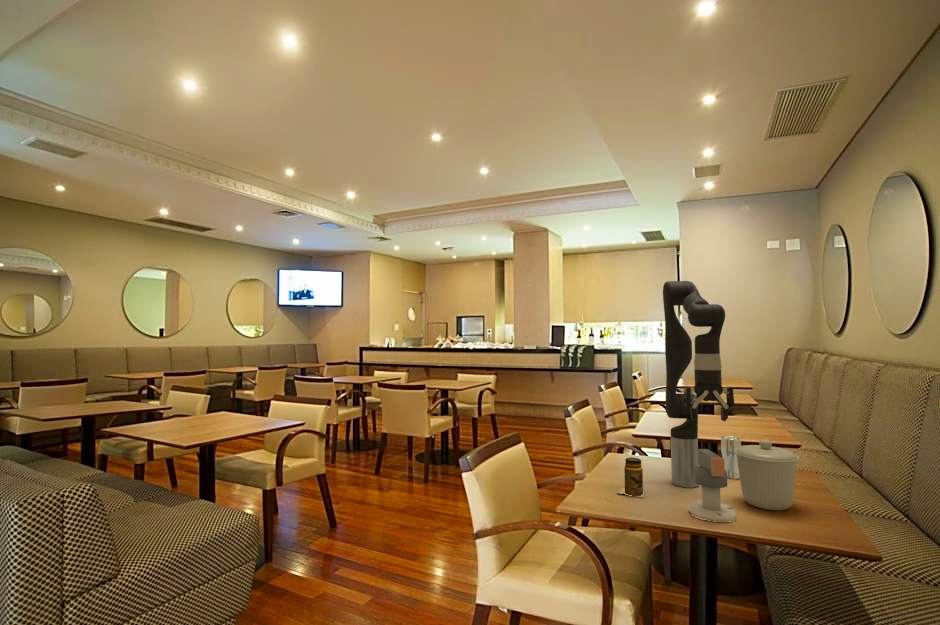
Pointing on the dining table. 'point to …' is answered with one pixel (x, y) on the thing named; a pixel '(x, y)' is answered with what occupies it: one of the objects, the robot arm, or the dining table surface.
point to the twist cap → (710, 470)
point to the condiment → (633, 477)
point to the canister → (767, 475)
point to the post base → (711, 514)
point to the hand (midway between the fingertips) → (709, 420)
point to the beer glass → (730, 455)
